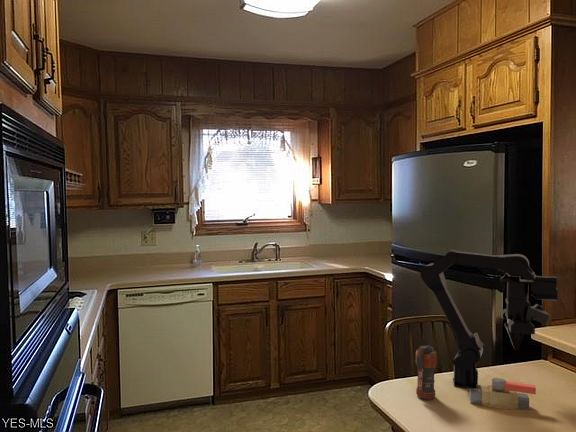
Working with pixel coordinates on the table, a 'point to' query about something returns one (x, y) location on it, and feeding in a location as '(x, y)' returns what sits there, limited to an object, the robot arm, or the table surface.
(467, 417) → the table surface
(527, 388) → the lever
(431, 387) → the grenade
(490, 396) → the valve pipe
